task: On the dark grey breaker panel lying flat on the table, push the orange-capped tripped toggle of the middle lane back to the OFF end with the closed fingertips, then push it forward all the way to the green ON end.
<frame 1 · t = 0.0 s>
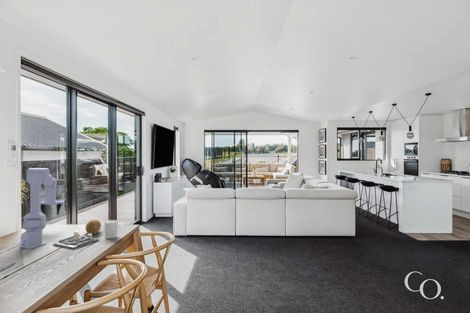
hand: (51, 214, 185), 11 cm above the table, tool pointing down, fingers open, 7 cm apart
panel: (76, 242, 162), on the table
white cup: (110, 237, 174), on the table
potato: (93, 233, 181), on the table
breaker: (76, 237, 162), point 3 cm above the table, slide at 0.0 cm
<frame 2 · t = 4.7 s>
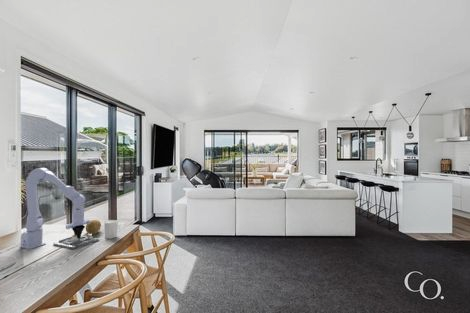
hand: (78, 238, 162), 3 cm above the table, tool pointing down, fingers closed
breaker: (74, 238, 160), point 3 cm above the table, slide at -1.5 cm, touching gripper
everything else where it was.
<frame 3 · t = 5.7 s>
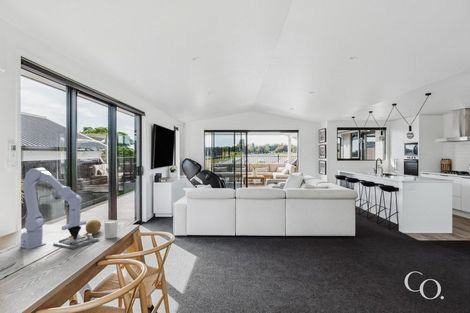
hand: (74, 239, 160), 3 cm above the table, tool pointing down, fingers closed
breaker: (70, 239, 158), point 3 cm above the table, slide at -4.0 cm, touching gripper
everything else where it was.
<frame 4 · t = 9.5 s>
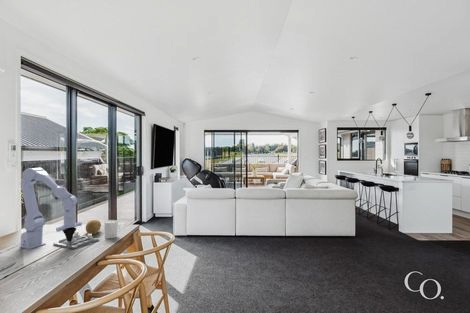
hand: (69, 240, 157), 3 cm above the table, tool pointing down, fingers closed
breaker: (72, 239, 159), point 3 cm above the table, slide at -2.8 cm, touching gripper
everything else where it was.
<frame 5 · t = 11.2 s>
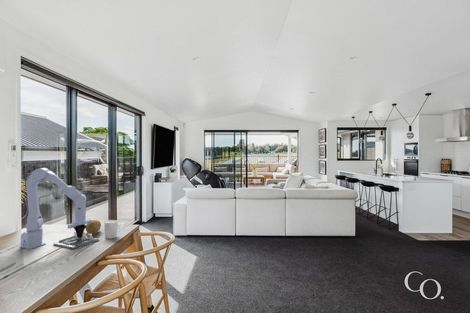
hand: (79, 237, 163), 3 cm above the table, tool pointing down, fingers closed
breaker: (82, 235, 165), point 3 cm above the table, slide at 4.0 cm, touching gripper
everything else where it was.
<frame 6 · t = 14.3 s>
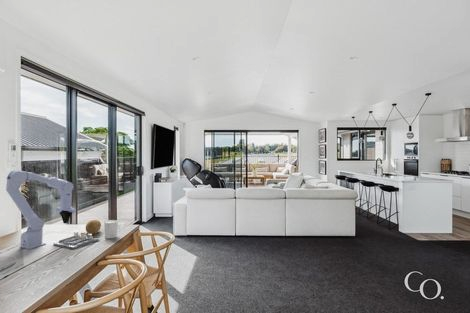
hand: (65, 223, 168), 10 cm above the table, tool pointing down, fingers closed
breaker: (82, 235, 165), point 3 cm above the table, slide at 4.0 cm
everything else where it was.
at the end: breaker slide at 4.0 cm; breaker touching nothing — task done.
